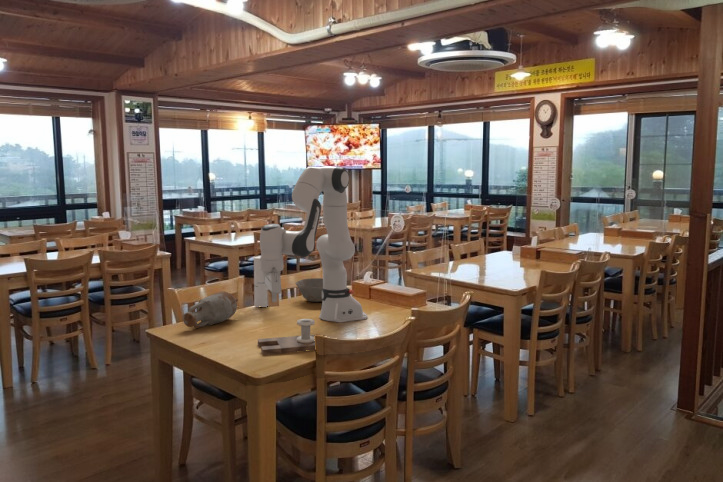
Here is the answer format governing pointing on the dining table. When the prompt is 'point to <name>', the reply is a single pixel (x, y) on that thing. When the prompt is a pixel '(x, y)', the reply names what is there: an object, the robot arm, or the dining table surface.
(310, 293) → the ceramic bowl
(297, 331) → the dining table surface
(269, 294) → the tan wooden block
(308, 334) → the bobbin
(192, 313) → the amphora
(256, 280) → the cylindrical container
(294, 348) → the notched board
